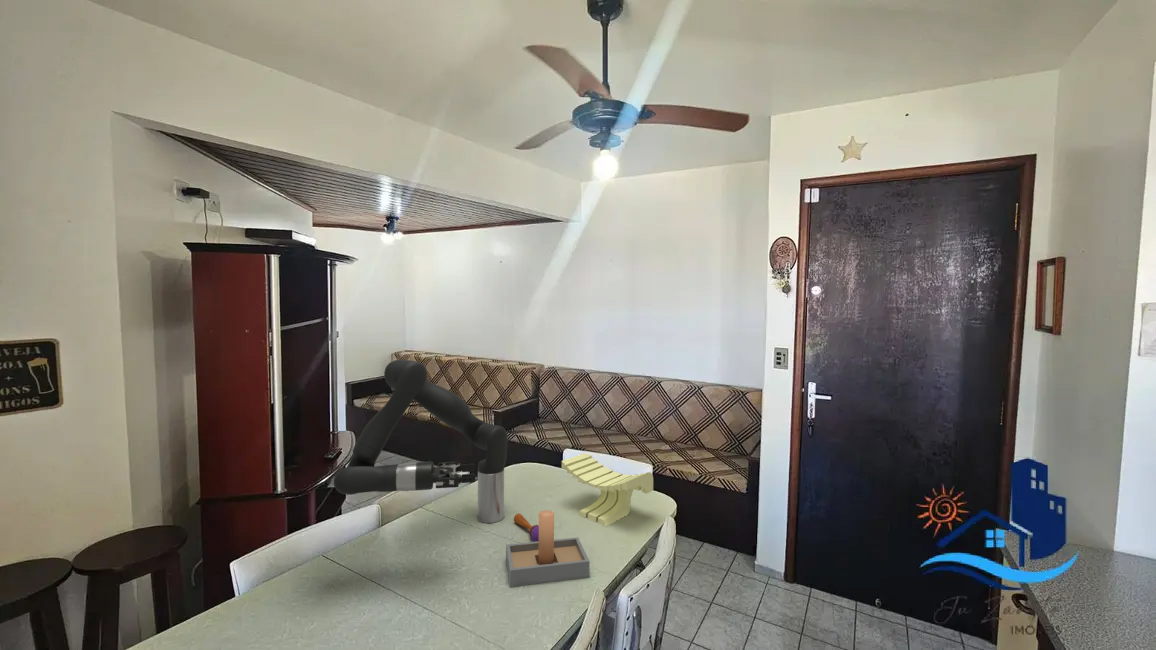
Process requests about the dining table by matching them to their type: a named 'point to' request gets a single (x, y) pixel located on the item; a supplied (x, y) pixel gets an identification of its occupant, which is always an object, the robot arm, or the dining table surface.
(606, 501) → the slatted curved stool
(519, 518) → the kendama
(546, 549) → the peg
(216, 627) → the dining table surface
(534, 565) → the peg box
